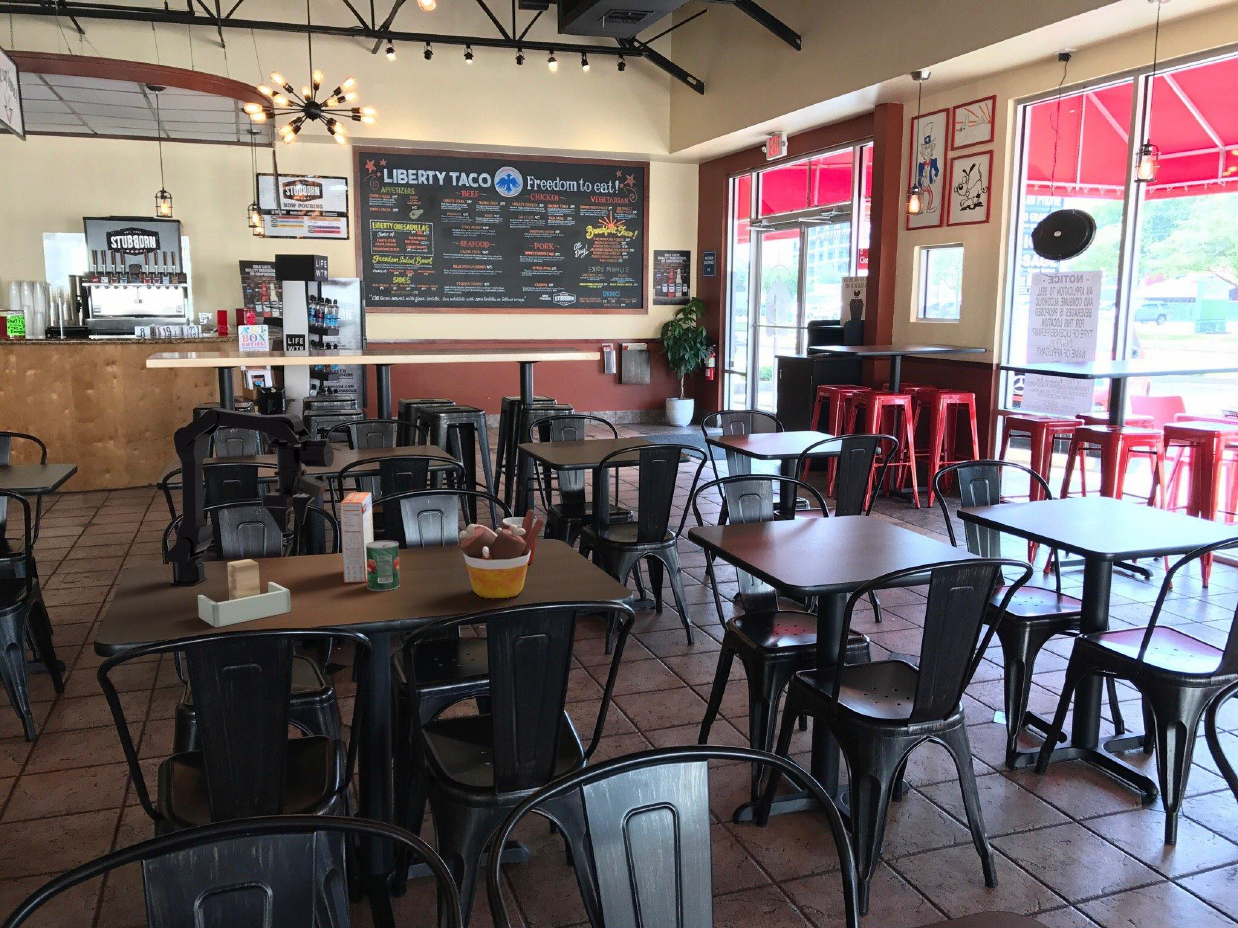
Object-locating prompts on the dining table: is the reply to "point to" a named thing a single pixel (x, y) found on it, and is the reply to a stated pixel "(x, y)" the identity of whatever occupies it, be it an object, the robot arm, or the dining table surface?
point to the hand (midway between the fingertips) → (292, 528)
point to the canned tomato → (382, 565)
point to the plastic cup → (518, 522)
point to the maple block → (243, 579)
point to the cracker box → (356, 535)
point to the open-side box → (245, 607)
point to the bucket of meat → (499, 556)
